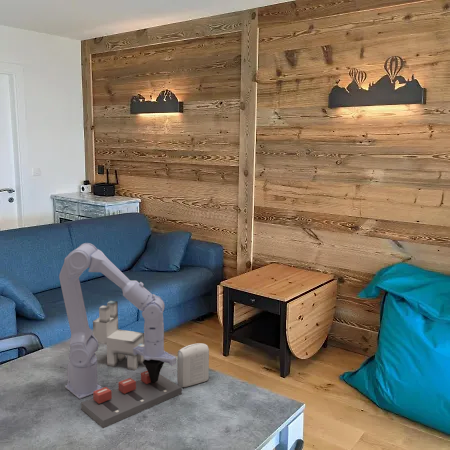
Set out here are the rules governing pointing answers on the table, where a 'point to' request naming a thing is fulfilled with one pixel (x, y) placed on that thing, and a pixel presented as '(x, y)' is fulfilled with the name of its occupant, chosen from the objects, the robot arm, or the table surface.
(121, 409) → the slider switch panel
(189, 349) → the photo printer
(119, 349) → the toy llama
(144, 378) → the switch
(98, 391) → the switch
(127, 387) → the switch
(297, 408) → the table surface
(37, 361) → the table surface
